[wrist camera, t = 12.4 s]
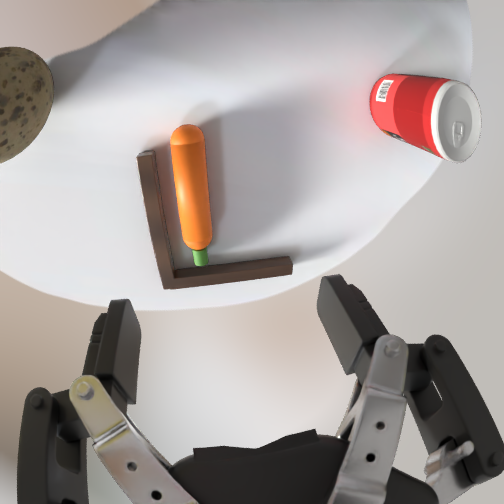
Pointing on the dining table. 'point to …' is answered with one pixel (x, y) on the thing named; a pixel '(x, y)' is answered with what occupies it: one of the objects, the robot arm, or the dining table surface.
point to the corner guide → (196, 274)
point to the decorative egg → (22, 99)
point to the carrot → (192, 189)
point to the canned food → (428, 114)
